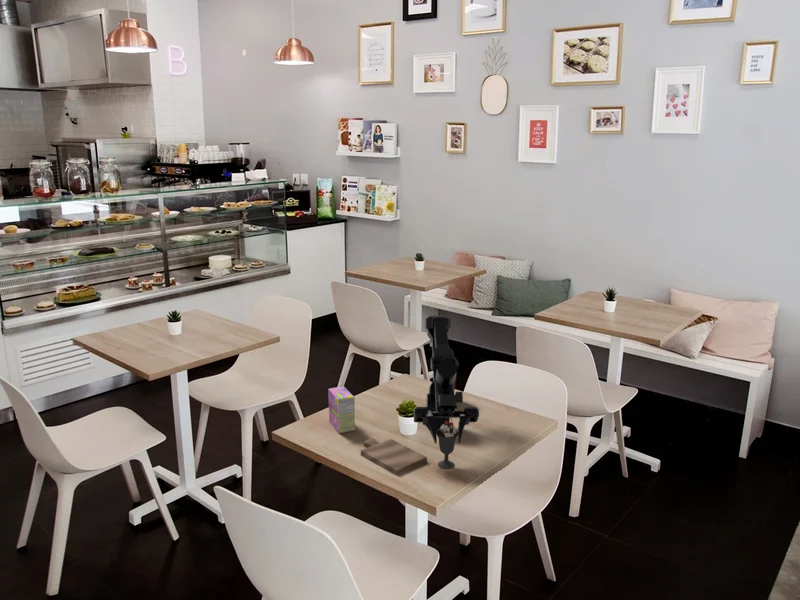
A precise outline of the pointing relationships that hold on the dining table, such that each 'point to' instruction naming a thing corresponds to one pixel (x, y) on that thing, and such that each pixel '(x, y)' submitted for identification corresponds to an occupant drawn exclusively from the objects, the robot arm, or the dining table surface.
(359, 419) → the dining table surface
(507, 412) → the dining table surface
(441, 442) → the sundae
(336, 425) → the box
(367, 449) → the board
